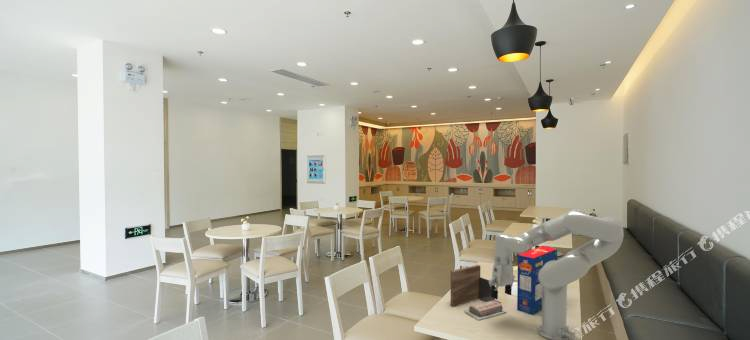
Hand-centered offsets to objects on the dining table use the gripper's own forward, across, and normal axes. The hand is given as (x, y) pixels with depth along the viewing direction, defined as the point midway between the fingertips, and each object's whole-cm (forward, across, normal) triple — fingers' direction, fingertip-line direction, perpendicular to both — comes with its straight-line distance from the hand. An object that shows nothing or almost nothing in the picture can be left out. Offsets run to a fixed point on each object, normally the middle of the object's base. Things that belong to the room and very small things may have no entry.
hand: (501, 296), depth 167 cm
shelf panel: (+12, +2, +24) cm, 27 cm away
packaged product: (+12, 0, +9) cm, 16 cm away
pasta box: (+12, +31, +1) cm, 33 cm away
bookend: (+12, +14, +18) cm, 26 cm away
